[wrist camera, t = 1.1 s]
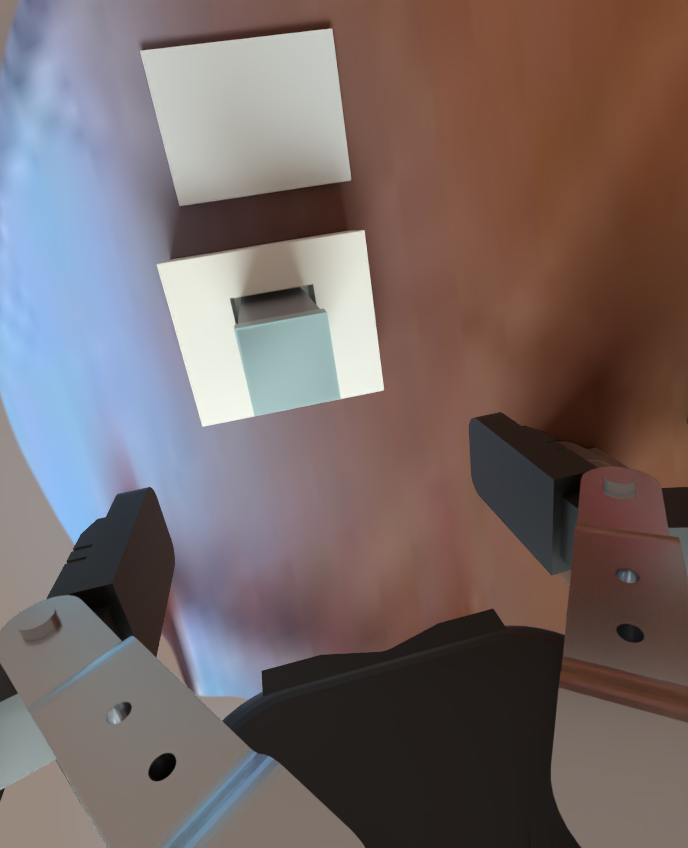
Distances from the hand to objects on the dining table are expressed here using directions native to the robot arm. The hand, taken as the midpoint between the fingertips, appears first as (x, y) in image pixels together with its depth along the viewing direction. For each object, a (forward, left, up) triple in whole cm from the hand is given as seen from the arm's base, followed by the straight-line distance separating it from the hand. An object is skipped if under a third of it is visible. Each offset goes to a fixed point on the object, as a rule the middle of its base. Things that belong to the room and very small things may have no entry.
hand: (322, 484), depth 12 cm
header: (0, 0, -24) cm, 24 cm away
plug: (0, 0, -23) cm, 23 cm away
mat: (-1, -12, -24) cm, 27 cm away
